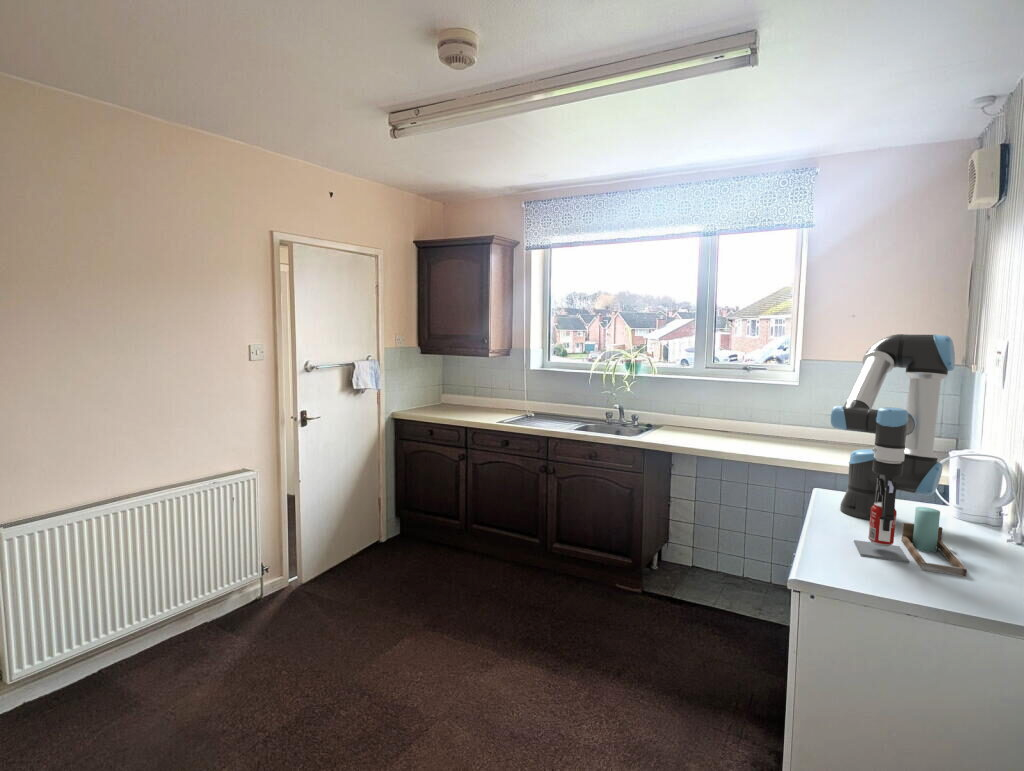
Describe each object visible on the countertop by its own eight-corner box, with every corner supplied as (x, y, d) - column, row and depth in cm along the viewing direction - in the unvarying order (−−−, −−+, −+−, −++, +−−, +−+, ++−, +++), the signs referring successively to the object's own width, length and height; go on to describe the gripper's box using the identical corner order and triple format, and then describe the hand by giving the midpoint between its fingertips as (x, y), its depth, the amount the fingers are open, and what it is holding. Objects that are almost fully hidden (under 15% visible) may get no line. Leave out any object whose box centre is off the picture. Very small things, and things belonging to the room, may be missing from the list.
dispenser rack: (901, 540, 181) (903, 522, 180) (939, 546, 177) (941, 527, 176) (921, 569, 159) (923, 549, 158) (966, 576, 155) (968, 555, 154)
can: (910, 543, 179) (913, 505, 177) (933, 546, 176) (936, 508, 175) (914, 550, 173) (918, 511, 172) (939, 553, 171) (942, 514, 169)
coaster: (853, 541, 179) (854, 539, 179) (899, 548, 175) (899, 546, 174) (860, 555, 168) (860, 553, 168) (909, 562, 163) (909, 560, 163)
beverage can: (897, 548, 168) (901, 508, 166) (873, 546, 169) (876, 507, 167) (887, 540, 174) (891, 501, 172) (864, 538, 175) (868, 500, 173)
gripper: (867, 452, 179) (861, 524, 181) (880, 466, 161) (873, 545, 163) (895, 455, 176) (889, 528, 178) (911, 469, 158) (904, 550, 160)
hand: (881, 536), depth 171 cm, fingers closed on beverage can, 6 cm apart
